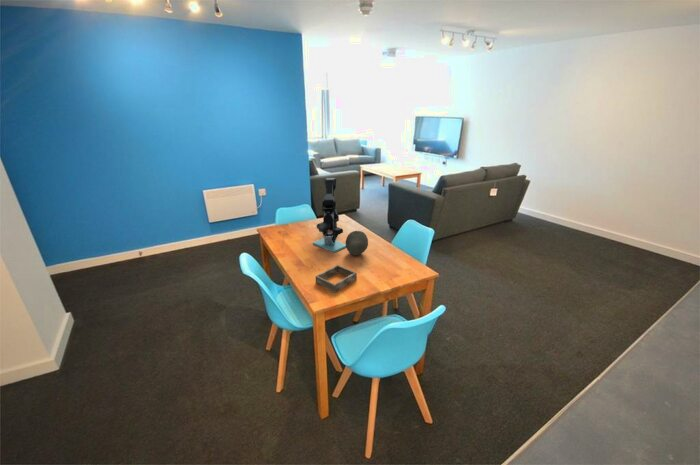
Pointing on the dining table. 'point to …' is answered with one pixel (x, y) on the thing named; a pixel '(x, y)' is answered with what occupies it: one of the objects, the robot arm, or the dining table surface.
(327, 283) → the frame
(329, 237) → the block
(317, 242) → the shaft base
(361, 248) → the dark grey ball
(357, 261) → the dining table surface
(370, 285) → the dining table surface
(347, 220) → the dining table surface
